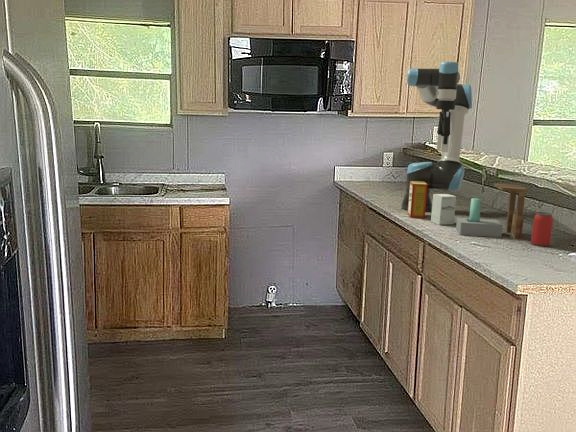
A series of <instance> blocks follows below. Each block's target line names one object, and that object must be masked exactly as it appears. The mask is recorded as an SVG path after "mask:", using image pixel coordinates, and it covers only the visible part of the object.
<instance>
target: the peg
mask: <svg viewBox="0 0 576 432" xmlns="http://www.w3.org/2000/svg"><path fill="white" fill-rule="evenodd" d="M482 200H483V199H481V198H475V197H474V198H473V197H472V198H471V199H470V208H469V217H468V218H469V222H479V221H480V219H481V208H482Z"/></svg>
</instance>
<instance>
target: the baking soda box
mask: <svg viewBox="0 0 576 432" xmlns="http://www.w3.org/2000/svg"><path fill="white" fill-rule="evenodd" d="M427 185H428V184H426V183H425V182H418V181H410V188H409V202H408V210H407V215H408V217H409V218H410V219H413V218H414V219H425V218H426V211H425V210H426V197H427Z"/></svg>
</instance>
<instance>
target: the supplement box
mask: <svg viewBox="0 0 576 432" xmlns="http://www.w3.org/2000/svg"><path fill="white" fill-rule="evenodd" d="M432 195H433V196H432V210H431V217H430V222H431V223H433V224H436V225H439V226H441V225H454V224H455V215H456V214H455V213H456V203H457V201H456V200H457V196H456V195H452V194H448V193H434V194H432Z"/></svg>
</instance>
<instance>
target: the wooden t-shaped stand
mask: <svg viewBox="0 0 576 432" xmlns="http://www.w3.org/2000/svg"><path fill="white" fill-rule="evenodd" d="M493 186H494V187H495V188H496V189H499V190H500V191H502V192H509V198H508V207H507V217H506V223H505V224H506V227H505V232H506V233H511V235H513V239H514V240H522V239H523V238H522V237H523V228H524V219H523V217H524V216H523V215H524V208H525V198H526V193H527V192H528V188H526V187H524V186H522V185H520V184H518V183H503V182H501V183H500V182H498V183H497V182H494V185H493ZM516 201H517V202H516ZM515 207H516V208H515ZM515 209H516V210H515ZM515 211H516V212H515Z"/></svg>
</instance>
